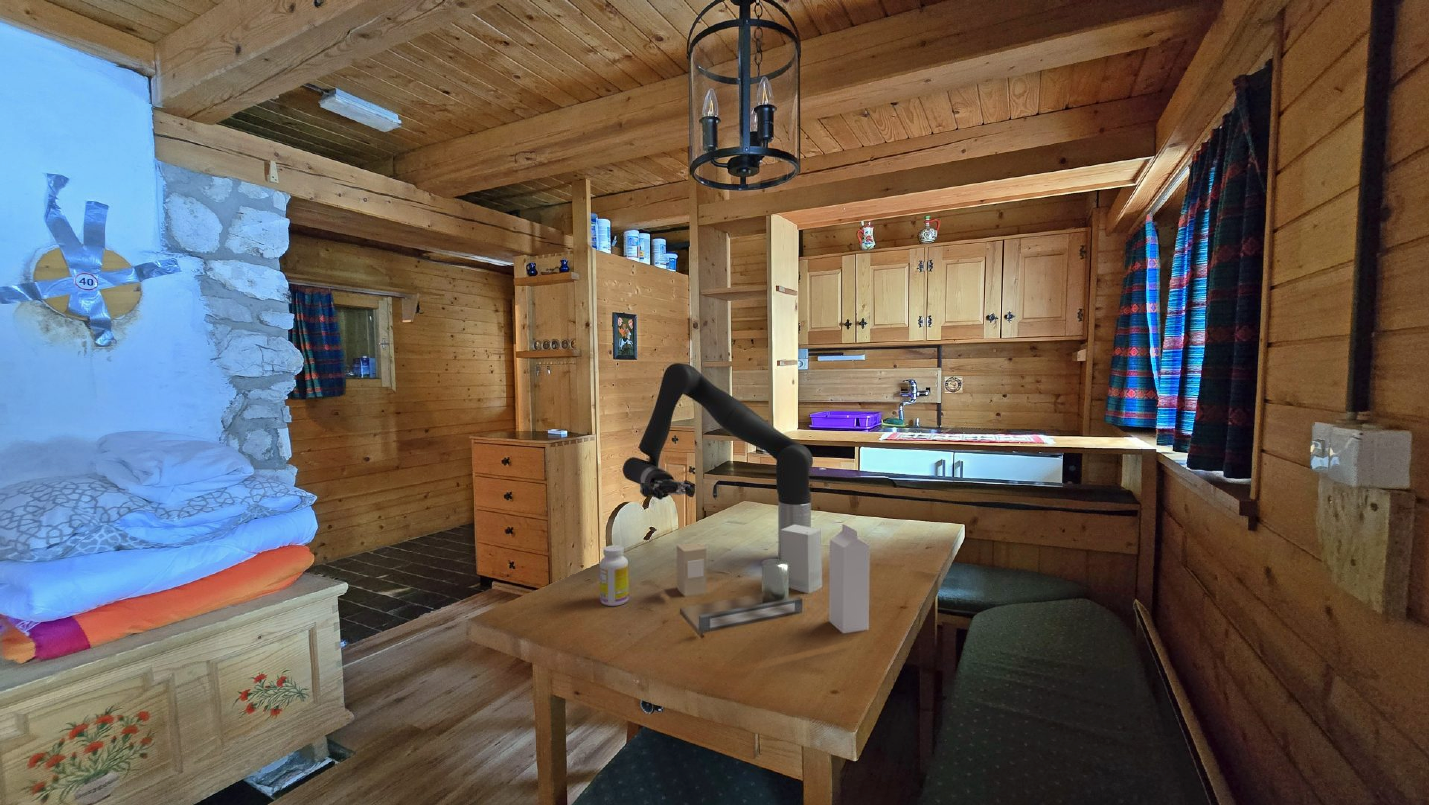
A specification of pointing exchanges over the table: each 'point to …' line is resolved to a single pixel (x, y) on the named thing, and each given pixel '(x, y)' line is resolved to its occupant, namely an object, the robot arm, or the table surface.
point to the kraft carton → (691, 569)
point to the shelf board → (737, 612)
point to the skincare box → (802, 557)
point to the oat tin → (775, 580)
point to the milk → (849, 581)
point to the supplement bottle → (614, 576)
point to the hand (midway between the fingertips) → (676, 494)
